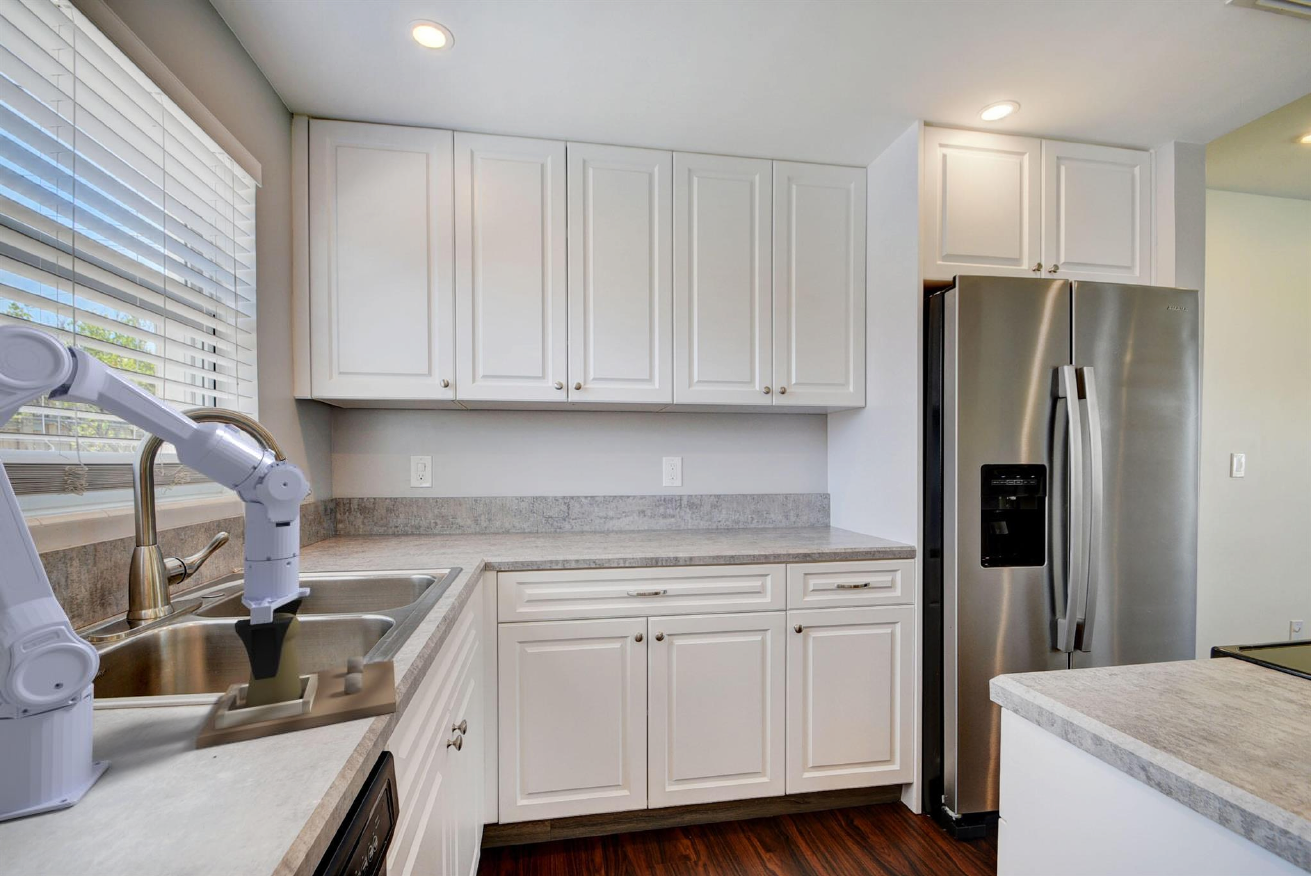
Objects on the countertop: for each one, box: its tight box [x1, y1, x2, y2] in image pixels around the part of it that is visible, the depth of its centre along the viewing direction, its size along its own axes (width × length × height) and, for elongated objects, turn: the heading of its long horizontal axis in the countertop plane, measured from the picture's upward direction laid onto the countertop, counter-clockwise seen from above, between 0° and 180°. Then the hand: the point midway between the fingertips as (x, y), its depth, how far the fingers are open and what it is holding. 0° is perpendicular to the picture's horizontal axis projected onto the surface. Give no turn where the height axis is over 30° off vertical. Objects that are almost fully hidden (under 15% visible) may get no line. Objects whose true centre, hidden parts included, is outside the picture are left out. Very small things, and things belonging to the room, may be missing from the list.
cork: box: [245, 613, 303, 709], centre depth 71 cm, size 6×6×11 cm
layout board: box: [195, 655, 397, 750], centre depth 74 cm, size 20×16×3 cm
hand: (271, 666), depth 70 cm, fingers open, 7 cm apart
